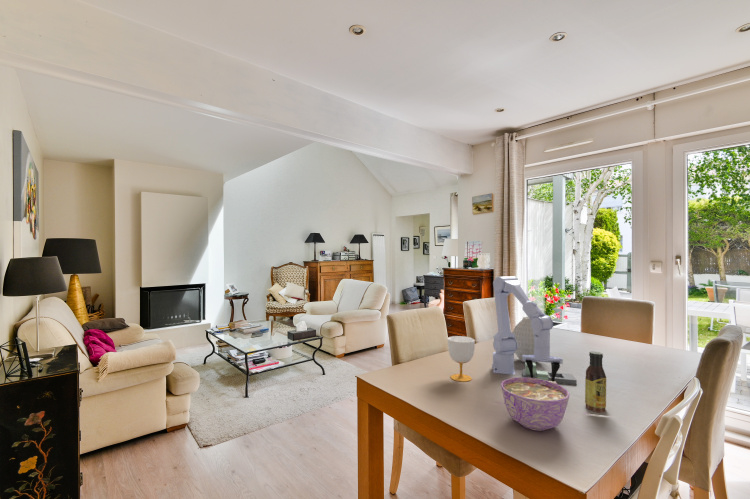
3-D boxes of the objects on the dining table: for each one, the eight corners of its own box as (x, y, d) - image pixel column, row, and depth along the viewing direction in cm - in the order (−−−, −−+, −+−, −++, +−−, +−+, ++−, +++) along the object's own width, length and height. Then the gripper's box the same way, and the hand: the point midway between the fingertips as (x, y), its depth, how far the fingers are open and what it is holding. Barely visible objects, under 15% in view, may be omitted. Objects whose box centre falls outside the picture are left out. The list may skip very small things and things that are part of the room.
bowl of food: (494, 429, 110) (494, 391, 110) (507, 405, 127) (507, 373, 127) (567, 448, 99) (567, 406, 99) (571, 419, 116) (571, 384, 116)
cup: (479, 377, 155) (479, 338, 155) (466, 385, 146) (466, 343, 147) (456, 371, 163) (456, 334, 163) (442, 378, 154) (442, 339, 155)
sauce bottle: (599, 415, 119) (598, 356, 120) (581, 408, 125) (580, 351, 125) (610, 411, 122) (610, 353, 123) (592, 404, 128) (592, 349, 128)
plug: (537, 388, 141) (537, 373, 141) (535, 385, 145) (535, 370, 145) (548, 390, 140) (548, 374, 140) (546, 386, 144) (546, 371, 144)
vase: (548, 359, 181) (547, 316, 182) (543, 368, 168) (543, 321, 168) (514, 355, 190) (514, 313, 190) (508, 362, 176) (508, 318, 177)
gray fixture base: (524, 381, 151) (524, 365, 151) (522, 374, 159) (522, 360, 159) (576, 386, 145) (576, 370, 145) (572, 379, 153) (571, 364, 153)
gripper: (523, 347, 141) (523, 381, 141) (564, 349, 137) (564, 385, 136) (521, 342, 148) (522, 375, 147) (560, 345, 143) (560, 379, 143)
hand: (542, 379), depth 142 cm, fingers open, 7 cm apart
